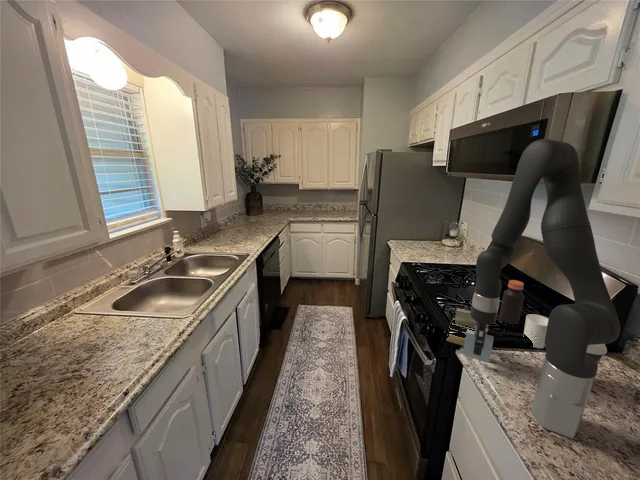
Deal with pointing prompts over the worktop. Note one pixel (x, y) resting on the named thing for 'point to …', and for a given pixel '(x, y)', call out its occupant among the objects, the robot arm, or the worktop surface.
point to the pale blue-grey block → (470, 346)
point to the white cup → (536, 329)
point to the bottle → (512, 302)
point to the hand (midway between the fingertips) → (477, 347)
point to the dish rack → (462, 319)
